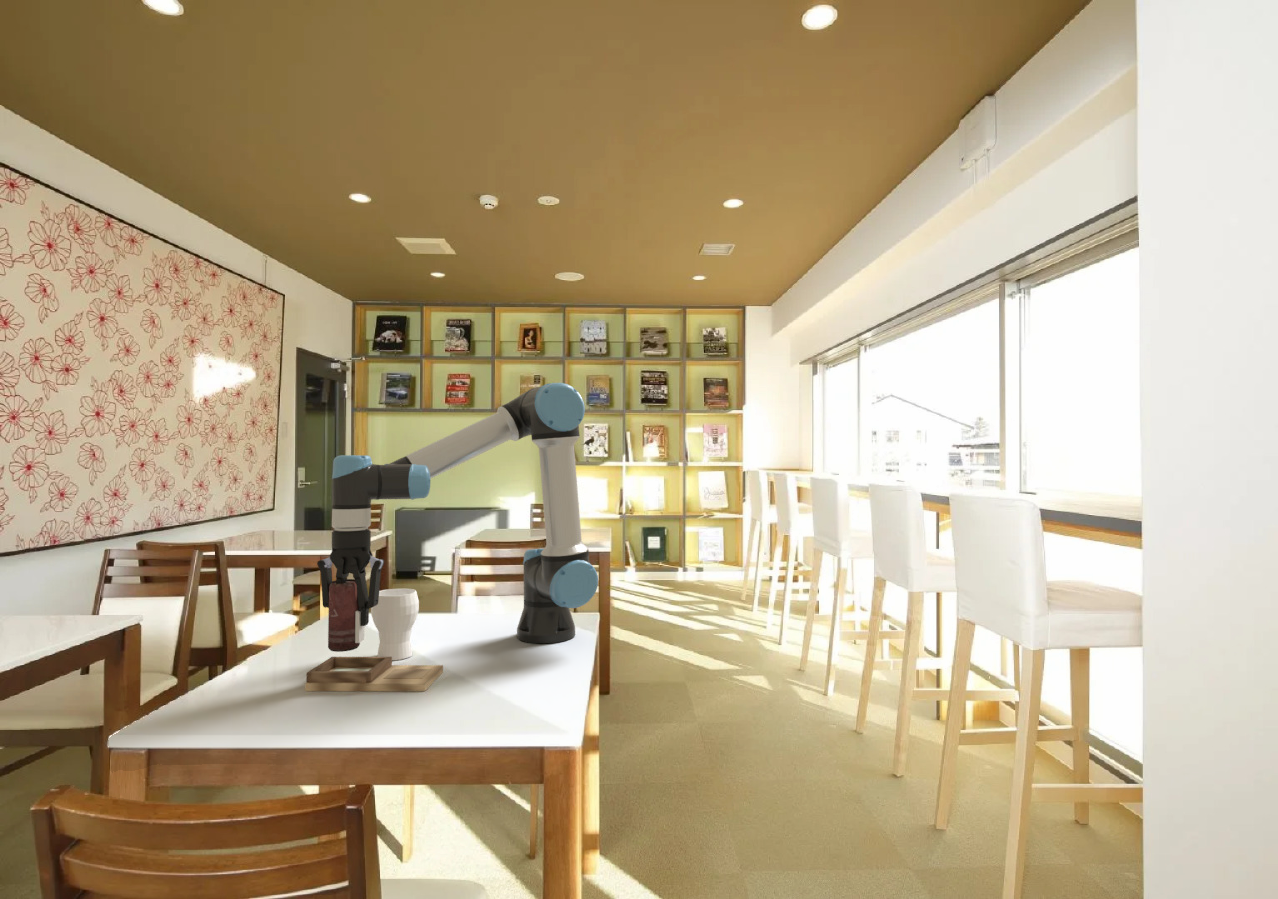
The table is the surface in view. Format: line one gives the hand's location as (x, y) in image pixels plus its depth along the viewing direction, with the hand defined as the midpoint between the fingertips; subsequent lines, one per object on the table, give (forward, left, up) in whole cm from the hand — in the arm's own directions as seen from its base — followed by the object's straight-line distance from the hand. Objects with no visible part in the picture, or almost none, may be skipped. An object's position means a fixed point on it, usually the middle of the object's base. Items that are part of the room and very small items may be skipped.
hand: (350, 641), depth 140 cm
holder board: (-6, 0, -8) cm, 10 cm away
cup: (-3, -18, -9) cm, 20 cm away
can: (+1, 0, -2) cm, 2 cm away
